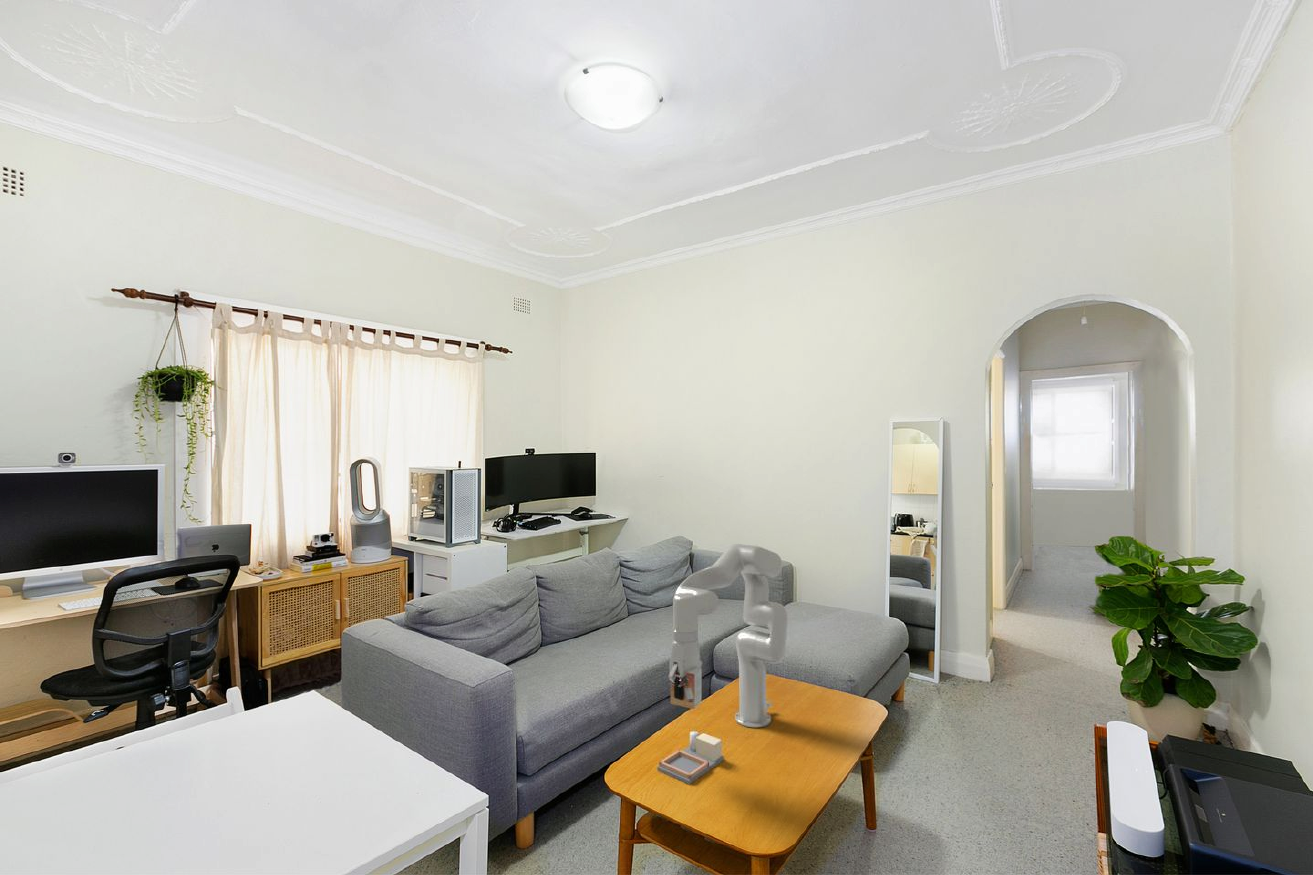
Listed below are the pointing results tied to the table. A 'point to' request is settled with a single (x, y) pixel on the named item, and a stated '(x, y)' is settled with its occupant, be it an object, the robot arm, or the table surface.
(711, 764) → the assembly board
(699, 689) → the small box
